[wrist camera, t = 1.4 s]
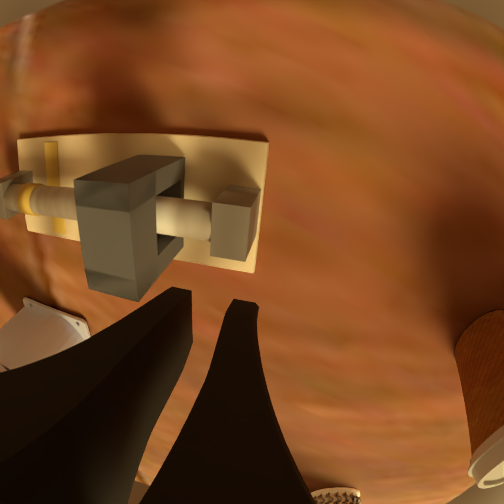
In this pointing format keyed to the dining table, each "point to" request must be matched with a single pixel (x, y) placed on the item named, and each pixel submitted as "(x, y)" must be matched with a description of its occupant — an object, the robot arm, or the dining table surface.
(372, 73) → the dining table surface
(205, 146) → the pipe stand
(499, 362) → the disposable coffee cup
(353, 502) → the decorative candle
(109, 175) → the grey notched block
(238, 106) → the dining table surface
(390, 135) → the dining table surface
